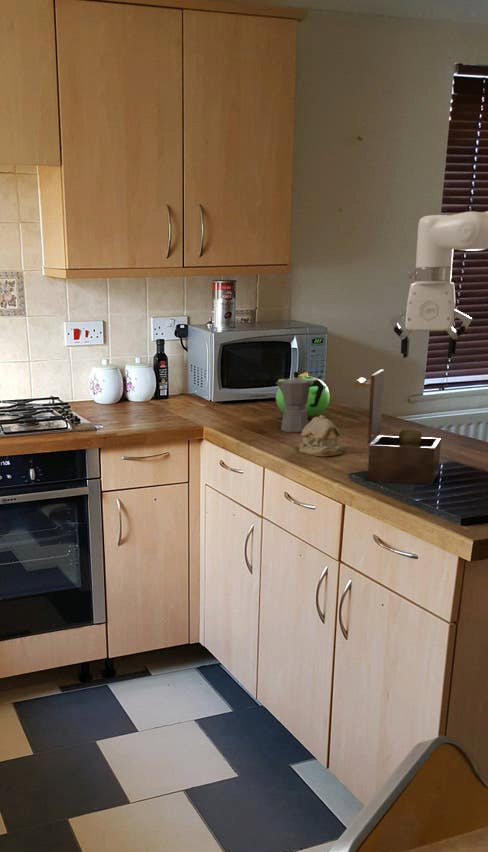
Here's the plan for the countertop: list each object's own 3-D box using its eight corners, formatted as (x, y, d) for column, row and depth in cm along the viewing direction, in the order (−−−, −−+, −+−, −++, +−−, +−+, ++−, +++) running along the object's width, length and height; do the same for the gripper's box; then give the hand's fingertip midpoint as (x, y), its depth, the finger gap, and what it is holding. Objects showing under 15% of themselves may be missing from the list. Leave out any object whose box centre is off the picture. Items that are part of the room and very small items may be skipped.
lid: (384, 369, 208) (361, 369, 210) (374, 375, 197) (350, 374, 199) (380, 433, 213) (358, 433, 215) (370, 443, 202) (347, 442, 204)
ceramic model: (290, 449, 245) (291, 414, 242) (323, 445, 249) (324, 410, 246) (319, 458, 233) (320, 420, 230) (353, 453, 237) (355, 416, 234)
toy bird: (330, 414, 303) (331, 370, 298) (327, 422, 287) (328, 376, 283) (278, 413, 307) (278, 371, 302) (272, 421, 291) (273, 376, 287)
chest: (438, 474, 211) (440, 438, 208) (431, 486, 200) (434, 448, 197) (377, 471, 216) (378, 435, 213) (367, 482, 205) (369, 445, 202)
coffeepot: (270, 431, 274) (270, 372, 268) (280, 426, 282) (281, 369, 276) (317, 434, 267) (319, 374, 261) (326, 429, 275) (328, 370, 269)
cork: (414, 471, 210) (417, 426, 207) (425, 477, 205) (428, 430, 201) (390, 473, 210) (393, 427, 206) (401, 478, 204) (404, 431, 200)
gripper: (389, 277, 190) (385, 358, 195) (473, 275, 183) (466, 359, 189) (395, 277, 196) (391, 355, 202) (476, 275, 190) (469, 356, 195)
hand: (427, 357), depth 195 cm, fingers open, 9 cm apart
